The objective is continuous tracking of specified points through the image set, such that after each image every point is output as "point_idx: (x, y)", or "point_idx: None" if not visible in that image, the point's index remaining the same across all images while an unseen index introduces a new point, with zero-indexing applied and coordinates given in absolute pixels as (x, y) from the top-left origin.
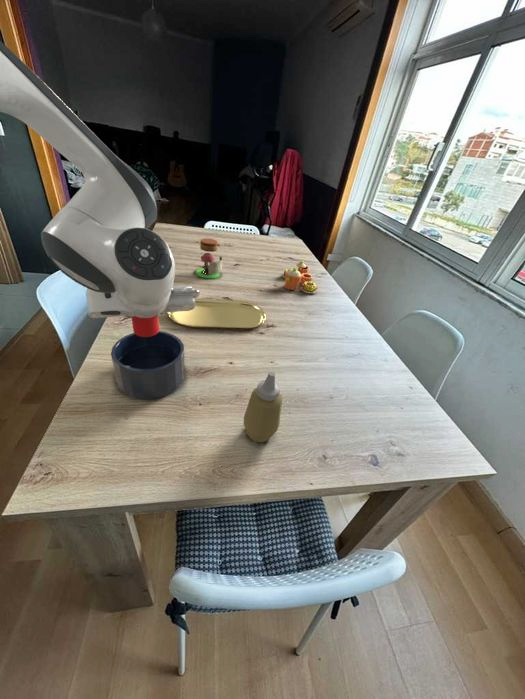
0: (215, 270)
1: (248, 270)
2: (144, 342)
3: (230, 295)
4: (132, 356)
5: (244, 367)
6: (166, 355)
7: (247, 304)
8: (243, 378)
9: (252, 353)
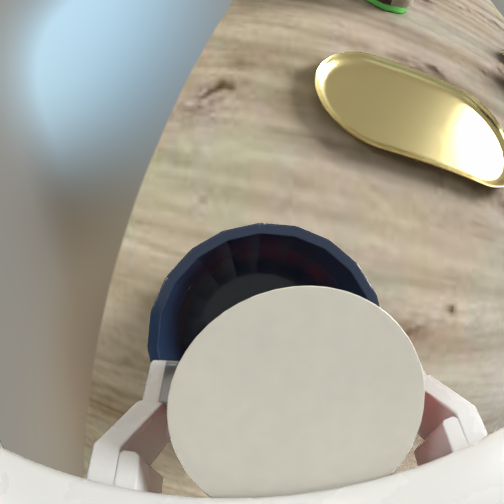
0: (405, 2)
1: (449, 18)
2: (253, 246)
3: (438, 63)
4: (215, 270)
5: (471, 328)
6: (309, 271)
7: (477, 104)
8: (461, 366)
9: (490, 278)
